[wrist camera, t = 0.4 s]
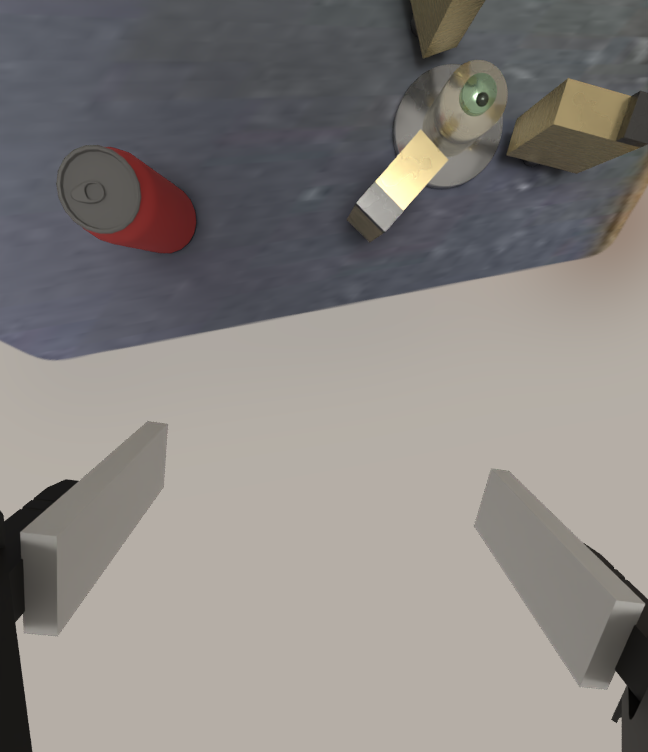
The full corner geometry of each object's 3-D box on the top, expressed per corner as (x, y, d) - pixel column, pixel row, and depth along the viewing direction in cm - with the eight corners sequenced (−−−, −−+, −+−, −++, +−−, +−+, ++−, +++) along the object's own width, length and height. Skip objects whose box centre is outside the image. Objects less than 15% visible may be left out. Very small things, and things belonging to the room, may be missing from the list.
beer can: (121, 188, 37) (33, 145, 25) (188, 176, 37) (131, 127, 25) (141, 259, 38) (66, 249, 27) (205, 247, 38) (158, 232, 26)
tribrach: (414, 8, 34) (445, -76, 26) (574, 55, 35) (651, -12, 27) (367, 215, 38) (382, 197, 30) (512, 249, 39) (564, 241, 31)
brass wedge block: (399, 159, 35) (423, 124, 27) (421, 183, 35) (452, 156, 28) (346, 219, 36) (356, 202, 28) (369, 242, 36) (385, 232, 29)
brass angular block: (506, 155, 35) (560, 119, 27) (516, 118, 34) (575, 72, 27) (576, 173, 35) (648, 143, 28) (588, 138, 35) (665, 98, 27)
